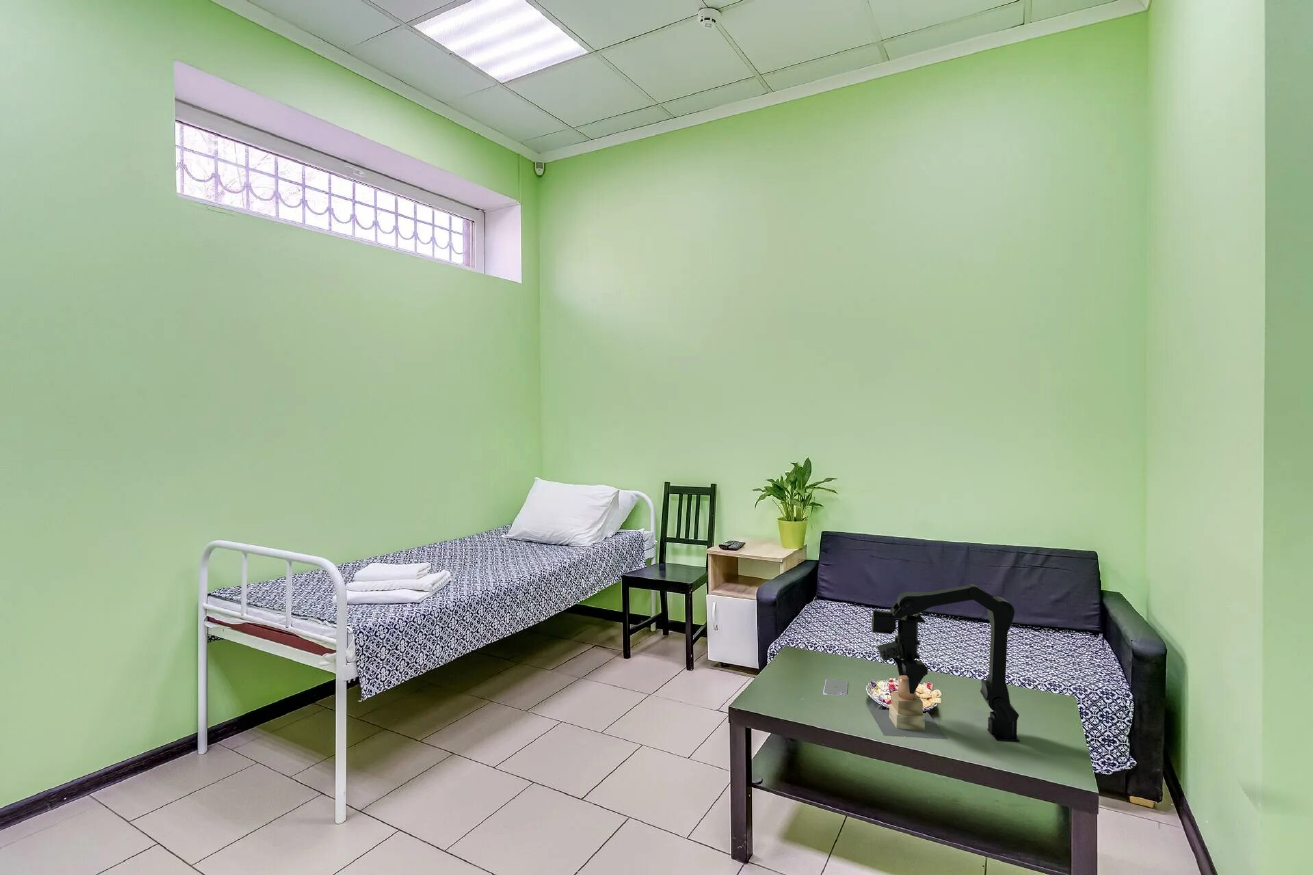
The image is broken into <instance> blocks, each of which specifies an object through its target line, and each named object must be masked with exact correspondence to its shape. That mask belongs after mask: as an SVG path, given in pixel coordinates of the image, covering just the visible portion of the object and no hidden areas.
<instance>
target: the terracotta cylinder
mask: <svg viewBox="0 0 1313 875" xmlns="http://www.w3.org/2000/svg"><path fill="white" fill-rule="evenodd" d="M897 683H898V684H897V692H898V696H899V697H900V698H902V699H906V700H915V699H916V694H917V690H916V691H915V692H914V694H910V692H909V686H908V679H907V675H901V676H899V675H898V679H897Z"/></svg>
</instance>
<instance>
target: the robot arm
mask: <svg viewBox="0 0 1313 875" xmlns="http://www.w3.org/2000/svg"><path fill="white" fill-rule="evenodd" d="M968 601H975V602H976V603H978V604H979V605H980V606H983V607H984V608H986V609H987V617H988V621H989V624H990V643H989V661H988V662H989V664H988V665H989V666H988V675H987V678H986V679H983V678H981V679H980V683H981V688H980V690H979V692H980V694H981V695H982V697H983V700H984V702H985V703H986V704H987V705H988V707H989V708H990V709H991V711H990V712H989V716H988V718H987V728H986V729H987V730H986V731H987V732H988V733H989V734H990V735H991V736H992V737H993V738H994V740H997V741H1007V742H1009V741H1010V742H1020V741H1021V740H1020V738H1019V737H1018V719H1019V716H1020V714H1019V713H1018V711H1017V710H1016V709H1015V707H1013V705H1012V704H1011V699H1010V692H1009V689H1008V686H1007V681H1006V679H1007V677H1006V675H1007V653H1008V652H1007V651H1008V636H1009V635H1008V634H1009V631H1010V629H1011V626H1012V625H1013V621H1014V618H1015V612H1016V611H1015V607H1014V606H1013V605H1012V603H1010V602H1009V601H1008V600H1006V599H1005V598H1004V597H1002V596H996V595H995V596H994V595H992V594H991V593H988V592H987V591H985V590H983V589H981V588H980V587H978V586H977V585H976V584H974V583H969V584H966V585H963V586H956V587H951V588H945V589H940V590H934V591H930V592H926V591H925V592H924V591H923V592H922V591H903V592H901V593H899V595H898V596H897V598H896V603H895V604H893V606H892V607H891V608H890V609H889V611H886V610H878V609H873V610H872V618H871V632H872V633H873V634H883V635H893V633H895V632H897V635H896V636H895V637H894V640H893V641H891V642H890V641H889V642H886V643H883V644H879V645H878V646H876V648H877V651H878V653H879V657H880V658H881V659H882V660H883V661H887V662H888V661H889V660H891V659H892V660H893V661H894V662H895V664H896V667H897V672H898V677H899V676H901V675H907V679H908V686H909V692H910V694H914V692H915V691H916V692H917V689H918V687H919V685H920V684H921V681H922V680H923V679H924V677H926V676H927V675H928V673H929V669H928V666H927V665H926V664H925V663H924V662H923V661H922V660H920V659H921V656H920V654H919V653H918V652H919V650H918V649H919V646H920V645H921V641H920V640H919V624H925V623H926V620H925V618H924V617H923V616H922V615H921V614H920V613H923V612H925V611H927V610H929V609H931V608H933V607H939V606H944V605H945V606H946V605H950V604H951V605H953V604H956V603H957V604H958V603H962V602H968ZM896 630H897V631H896Z"/></svg>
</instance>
